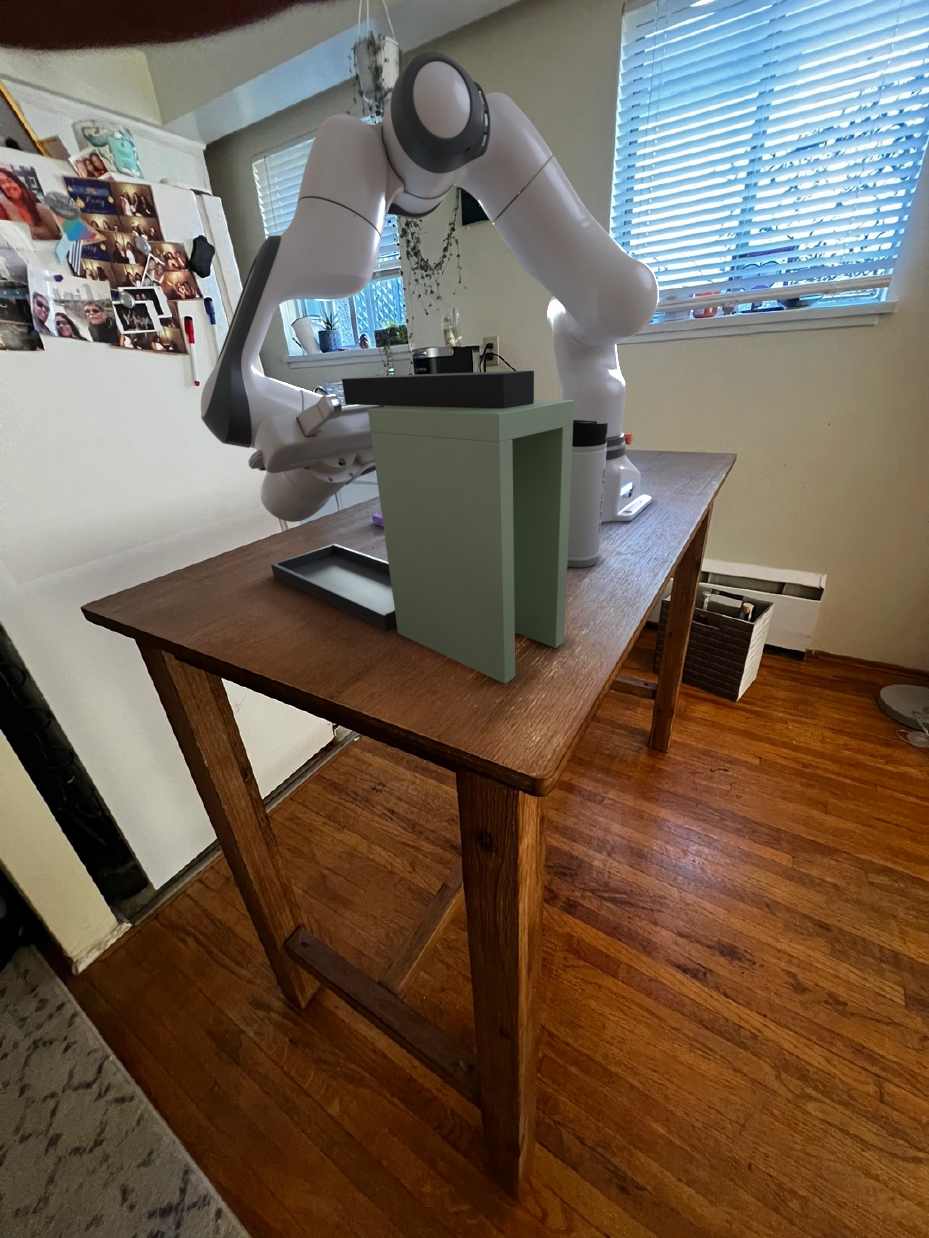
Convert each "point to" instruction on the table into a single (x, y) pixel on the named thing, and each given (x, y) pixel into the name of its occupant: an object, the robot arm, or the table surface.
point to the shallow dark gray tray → (343, 582)
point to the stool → (476, 525)
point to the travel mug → (586, 492)
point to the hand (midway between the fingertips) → (371, 397)
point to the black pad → (443, 390)
